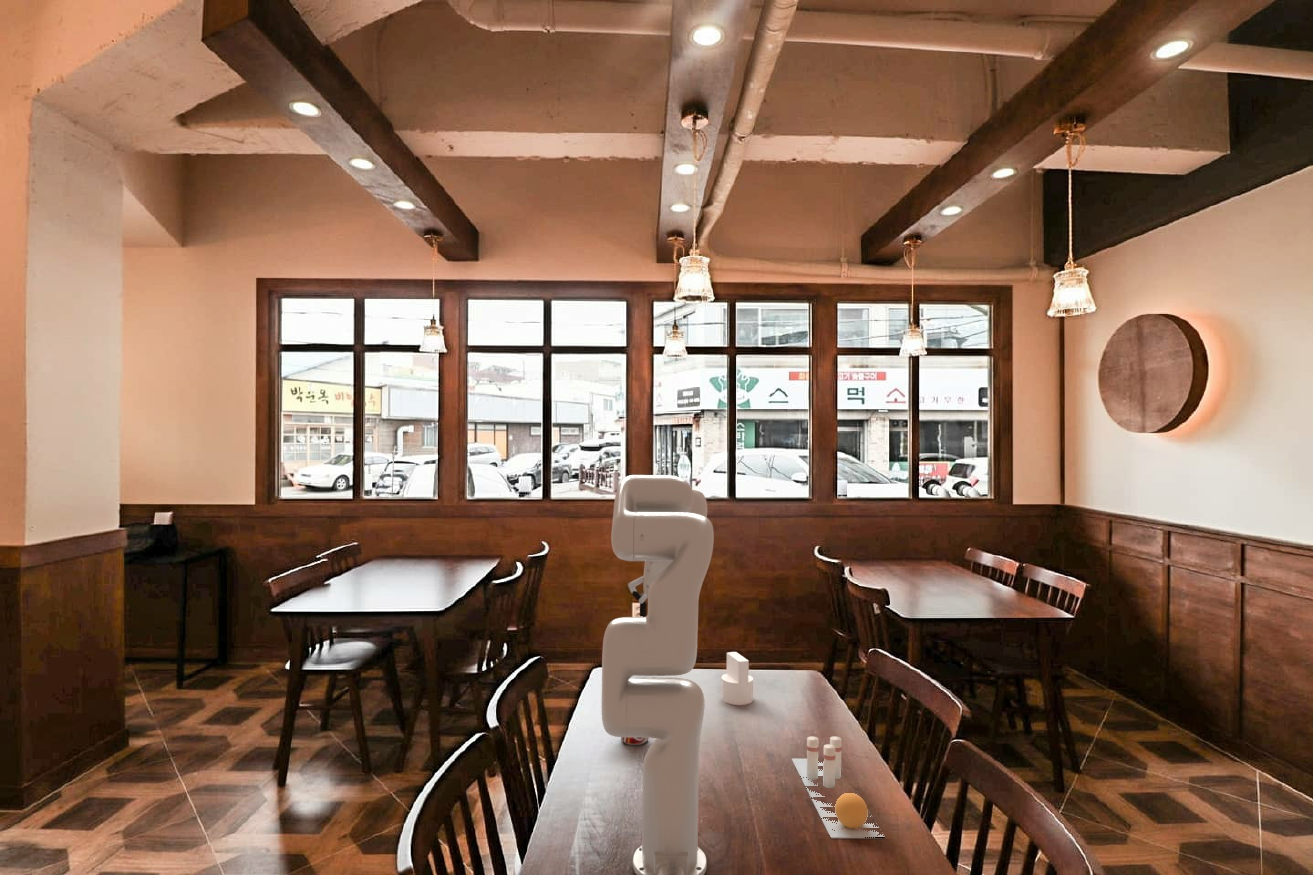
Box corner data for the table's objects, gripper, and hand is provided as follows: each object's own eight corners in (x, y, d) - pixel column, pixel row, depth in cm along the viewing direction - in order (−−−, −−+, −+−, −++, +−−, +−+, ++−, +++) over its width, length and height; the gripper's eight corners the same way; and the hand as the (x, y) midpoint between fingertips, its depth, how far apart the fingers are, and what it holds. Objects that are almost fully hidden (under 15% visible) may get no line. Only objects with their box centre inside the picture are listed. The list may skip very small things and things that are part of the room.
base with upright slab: (716, 695, 200) (716, 653, 200) (744, 692, 203) (745, 650, 203) (728, 706, 191) (729, 662, 191) (758, 703, 194) (758, 659, 194)
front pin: (836, 790, 145) (837, 749, 145) (824, 790, 145) (825, 749, 145) (833, 784, 148) (833, 744, 148) (821, 784, 148) (821, 744, 148)
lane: (884, 837, 127) (884, 836, 127) (830, 838, 127) (830, 837, 127) (834, 759, 159) (834, 758, 159) (791, 759, 159) (791, 758, 159)
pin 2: (842, 780, 149) (843, 741, 149) (831, 780, 149) (831, 741, 149) (839, 775, 152) (839, 736, 152) (828, 775, 152) (828, 736, 152)
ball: (872, 834, 128) (872, 802, 128) (840, 835, 128) (840, 802, 128) (861, 817, 134) (862, 786, 134) (831, 817, 134) (831, 786, 134)
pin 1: (819, 780, 149) (820, 741, 149) (808, 780, 149) (808, 741, 149) (816, 775, 152) (817, 736, 152) (805, 775, 151) (805, 736, 152)
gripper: (628, 548, 159) (627, 623, 159) (703, 548, 160) (703, 623, 159) (628, 543, 166) (627, 615, 166) (700, 544, 167) (699, 615, 167)
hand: (664, 619), depth 163 cm, fingers open, 9 cm apart
